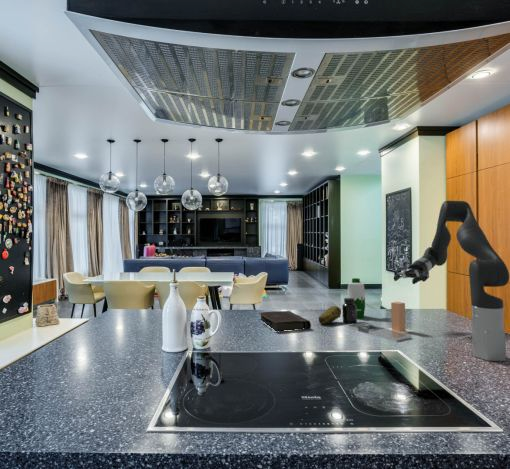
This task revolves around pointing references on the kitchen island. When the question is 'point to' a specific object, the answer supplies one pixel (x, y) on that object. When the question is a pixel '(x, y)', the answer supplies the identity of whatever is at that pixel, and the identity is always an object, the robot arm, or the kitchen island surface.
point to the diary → (284, 320)
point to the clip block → (398, 316)
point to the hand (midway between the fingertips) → (403, 280)
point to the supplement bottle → (349, 311)
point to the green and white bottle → (357, 295)
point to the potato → (330, 315)
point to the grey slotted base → (380, 332)
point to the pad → (402, 331)
